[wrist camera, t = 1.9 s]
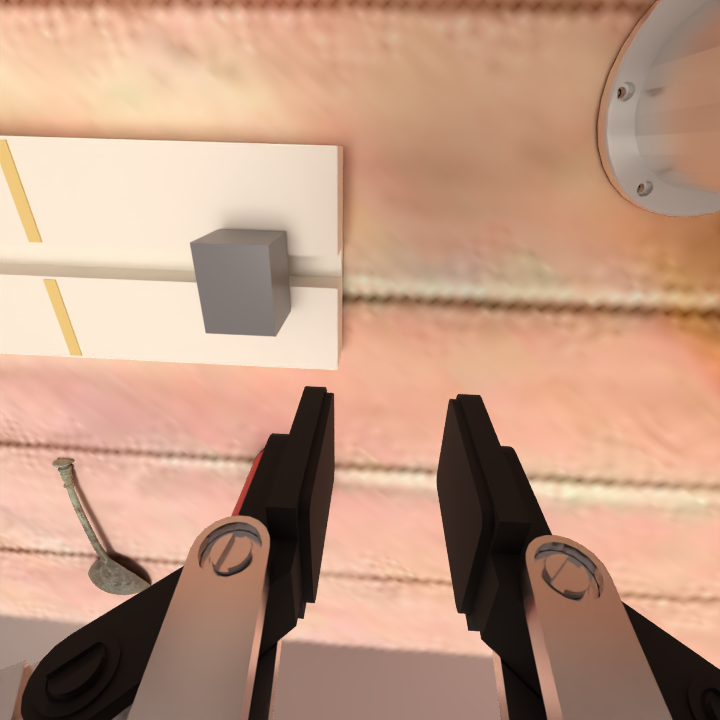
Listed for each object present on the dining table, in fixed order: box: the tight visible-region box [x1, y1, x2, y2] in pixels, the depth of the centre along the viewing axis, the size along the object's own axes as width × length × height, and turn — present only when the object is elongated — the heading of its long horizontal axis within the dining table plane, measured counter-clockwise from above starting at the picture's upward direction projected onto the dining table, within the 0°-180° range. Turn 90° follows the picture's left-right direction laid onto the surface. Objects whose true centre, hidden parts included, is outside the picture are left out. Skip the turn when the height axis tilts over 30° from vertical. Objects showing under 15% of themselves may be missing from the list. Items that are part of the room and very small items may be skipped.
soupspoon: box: [52, 459, 151, 595], centre depth 43 cm, size 22×3×7 cm
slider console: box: [0, 136, 343, 370], centre depth 26 cm, size 26×14×4 cm, turn 88°
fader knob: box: [190, 229, 291, 337], centre depth 23 cm, size 4×5×6 cm
